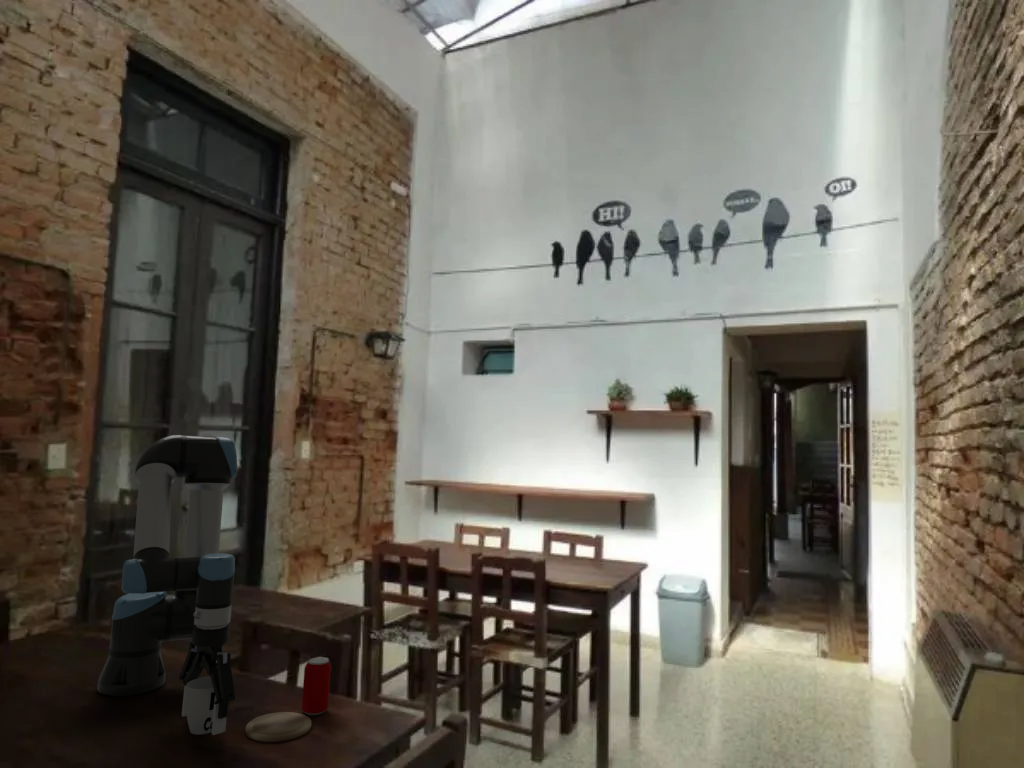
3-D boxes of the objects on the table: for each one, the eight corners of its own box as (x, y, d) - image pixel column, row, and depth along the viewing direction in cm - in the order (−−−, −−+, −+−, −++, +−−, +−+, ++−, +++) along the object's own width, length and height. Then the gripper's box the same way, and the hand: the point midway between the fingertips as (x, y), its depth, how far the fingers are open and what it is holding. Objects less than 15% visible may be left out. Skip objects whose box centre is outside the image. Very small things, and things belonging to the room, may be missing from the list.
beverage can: (313, 705, 162) (317, 654, 163) (333, 710, 159) (336, 659, 160) (295, 713, 156) (299, 661, 158) (315, 719, 154) (319, 666, 155)
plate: (233, 728, 147) (233, 724, 147) (288, 710, 158) (288, 706, 158) (267, 748, 138) (268, 743, 138) (323, 728, 149) (323, 724, 149)
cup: (206, 739, 141) (210, 691, 142) (173, 734, 143) (178, 687, 143) (230, 724, 149) (233, 679, 150) (198, 720, 150) (202, 674, 151)
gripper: (169, 616, 153) (160, 712, 151) (224, 640, 137) (214, 746, 135) (201, 611, 158) (192, 703, 156) (257, 633, 143) (248, 735, 141)
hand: (203, 723), depth 146 cm, fingers open, 13 cm apart
